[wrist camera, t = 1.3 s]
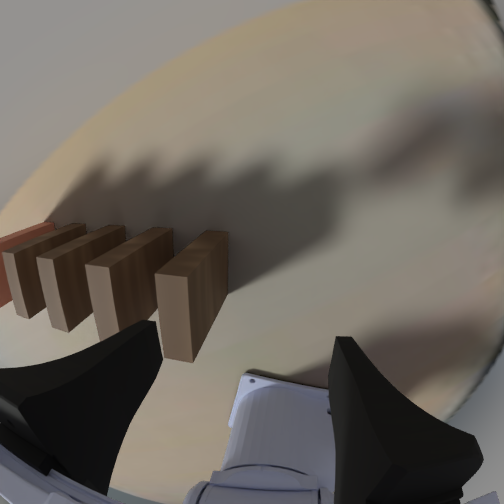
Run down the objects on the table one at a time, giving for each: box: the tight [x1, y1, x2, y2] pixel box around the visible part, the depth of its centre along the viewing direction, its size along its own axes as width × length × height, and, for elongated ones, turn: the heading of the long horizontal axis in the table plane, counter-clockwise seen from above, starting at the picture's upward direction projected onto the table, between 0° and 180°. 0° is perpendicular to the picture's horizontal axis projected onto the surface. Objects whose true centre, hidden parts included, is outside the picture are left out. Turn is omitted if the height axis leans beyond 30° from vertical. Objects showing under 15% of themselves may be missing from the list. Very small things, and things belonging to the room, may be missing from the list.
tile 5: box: [0, 222, 55, 308], centre depth 20 cm, size 2×5×8 cm, turn 178°
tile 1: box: [155, 231, 228, 363], centre depth 18 cm, size 2×5×8 cm, turn 177°
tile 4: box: [2, 223, 86, 319], centre depth 19 cm, size 2×5×8 cm, turn 178°
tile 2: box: [85, 227, 174, 342], centre depth 18 cm, size 2×5×8 cm, turn 178°
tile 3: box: [36, 225, 126, 333], centre depth 19 cm, size 2×5×8 cm, turn 178°
